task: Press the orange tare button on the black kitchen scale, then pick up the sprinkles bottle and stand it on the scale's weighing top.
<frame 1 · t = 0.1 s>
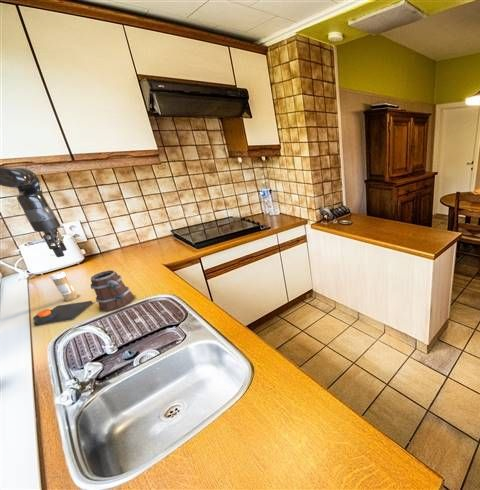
hand: (62, 253, 116), 24 cm above the worktop, tool pointing down, fingers open, 8 cm apart
tare button: (44, 313, 109), point 3 cm above the worktop, slide at 0.1 cm
sprinkles bottle: (71, 298, 126), on the worktop
scale: (65, 313, 114), on the worktop
mug: (120, 304, 119), on the worktop
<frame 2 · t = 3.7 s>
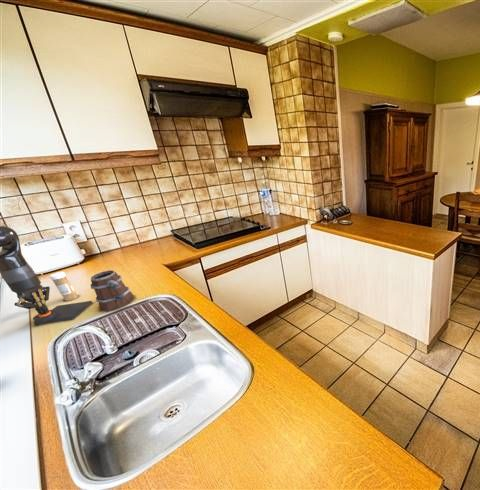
hand: (44, 313, 110), 3 cm above the worktop, tool pointing down, fingers closed
tare button: (45, 315, 110), point 3 cm above the worktop, slide at -0.8 cm, touching gripper
everything else where it was.
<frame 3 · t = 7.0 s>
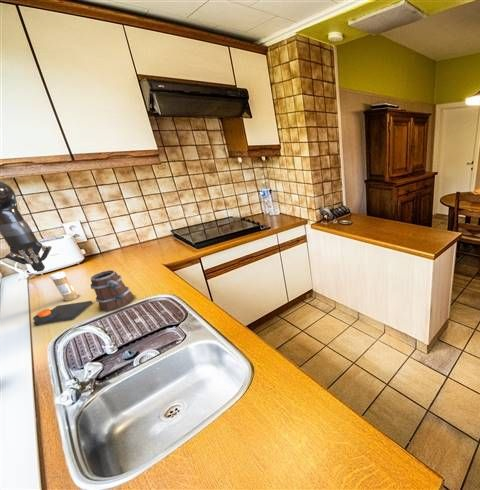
hand: (40, 270, 112), 19 cm above the worktop, tool pointing down, fingers closed
tare button: (44, 313, 109), point 3 cm above the worktop, slide at 0.1 cm
everything else where it was.
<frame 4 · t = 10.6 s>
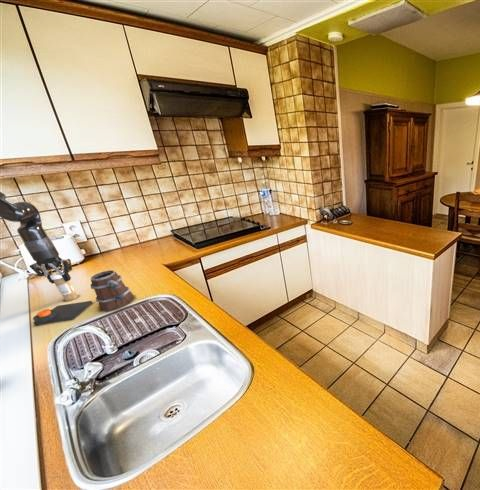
hand: (61, 281, 122), 9 cm above the worktop, tool pointing down, fingers closed on sprinkles bottle, 4 cm apart
sprinkles bottle: (71, 298, 126), on the worktop, touching gripper
everything else where it was.
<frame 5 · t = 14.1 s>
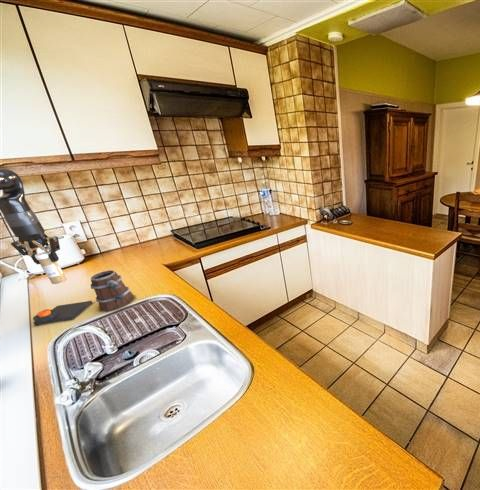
hand: (47, 262, 108), 23 cm above the worktop, tool pointing down, fingers closed on sprinkles bottle, 4 cm apart
sprinkles bottle: (59, 282, 112), point 14 cm above the worktop, touching gripper
everything else where it was.
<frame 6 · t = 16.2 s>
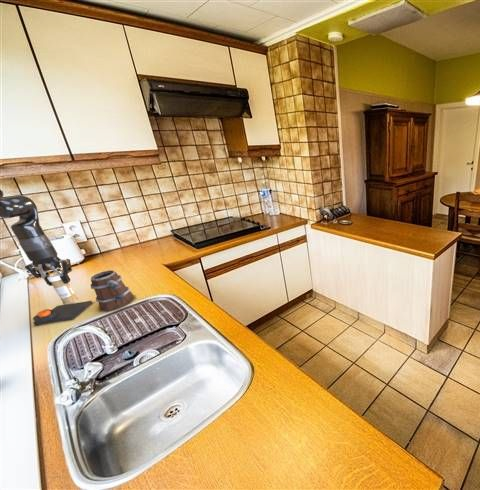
hand: (59, 283, 111), 14 cm above the worktop, tool pointing down, fingers closed on sprinkles bottle, 4 cm apart
sprinkles bottle: (71, 302, 115), point 4 cm above the worktop, touching gripper
everything else where it was.
when the fingers open (11 cm above the worktop, at t = 17.5 s): sprinkles bottle stays where it is, resting on scale.
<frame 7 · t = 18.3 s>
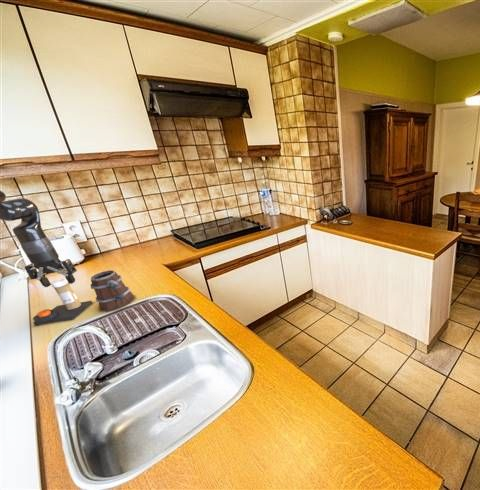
hand: (60, 284, 111), 13 cm above the worktop, tool pointing down, fingers open, 8 cm apart
sprinkles bottle: (74, 307, 116), point 1 cm above the worktop, touching scale
everything else where it was.
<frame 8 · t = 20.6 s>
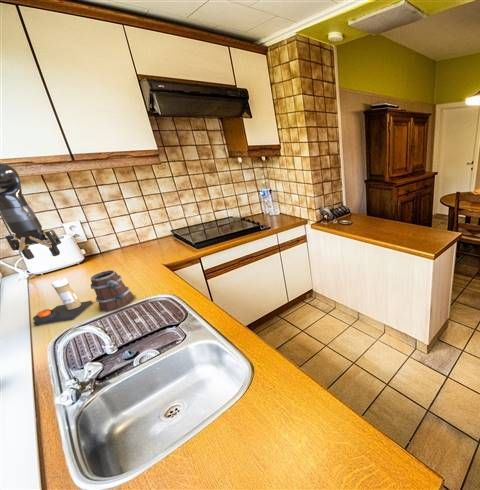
hand: (44, 257, 106), 26 cm above the worktop, tool pointing down, fingers open, 8 cm apart
nothing on the worktop moved.
at the end: tare button pushed in 0.9 cm at the most during the clip, back to where it started at the end; sprinkles bottle inside the target area on the scale (0.1 cm from its centre), point 1.2 cm above the scale's base; sprinkles bottle touching scale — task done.
